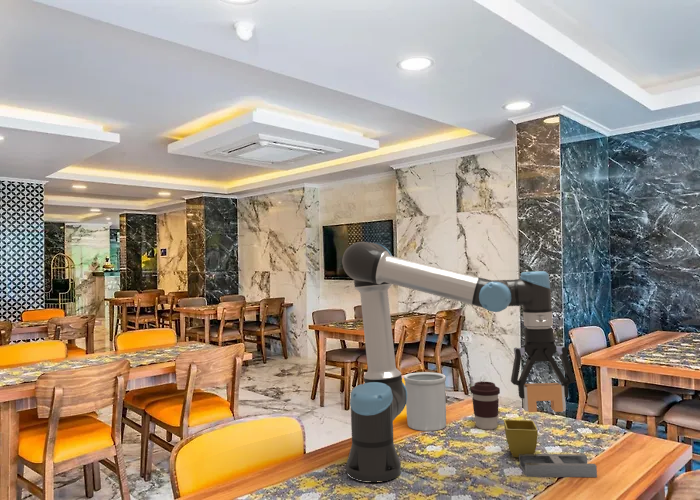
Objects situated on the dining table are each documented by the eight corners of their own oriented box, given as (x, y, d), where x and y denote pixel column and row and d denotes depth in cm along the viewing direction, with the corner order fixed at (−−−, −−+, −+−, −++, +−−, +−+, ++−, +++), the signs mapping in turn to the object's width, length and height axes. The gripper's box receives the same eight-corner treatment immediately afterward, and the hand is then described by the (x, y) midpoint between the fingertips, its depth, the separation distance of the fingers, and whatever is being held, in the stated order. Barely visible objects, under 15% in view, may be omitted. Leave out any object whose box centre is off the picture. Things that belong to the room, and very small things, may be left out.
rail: (526, 476, 132) (526, 465, 132) (519, 464, 140) (518, 453, 140) (597, 477, 130) (596, 465, 130) (585, 465, 138) (585, 454, 138)
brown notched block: (528, 412, 134) (527, 386, 135) (525, 409, 137) (524, 383, 138) (563, 411, 133) (561, 385, 134) (559, 408, 136) (557, 382, 137)
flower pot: (539, 461, 141) (538, 429, 142) (507, 460, 143) (506, 428, 144) (534, 450, 150) (533, 420, 150) (504, 449, 152) (503, 419, 152)
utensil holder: (401, 420, 183) (400, 372, 184) (440, 417, 185) (439, 370, 186) (410, 433, 169) (409, 381, 169) (453, 430, 170) (451, 379, 171)
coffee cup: (504, 430, 168) (503, 386, 169) (475, 431, 168) (474, 387, 169) (496, 421, 178) (494, 379, 179) (469, 422, 178) (467, 380, 179)
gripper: (500, 330, 134) (506, 414, 133) (584, 327, 132) (590, 412, 131) (495, 327, 141) (500, 406, 140) (574, 323, 139) (580, 404, 138)
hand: (544, 409), depth 135 cm, fingers closed on brown notched block, 9 cm apart
